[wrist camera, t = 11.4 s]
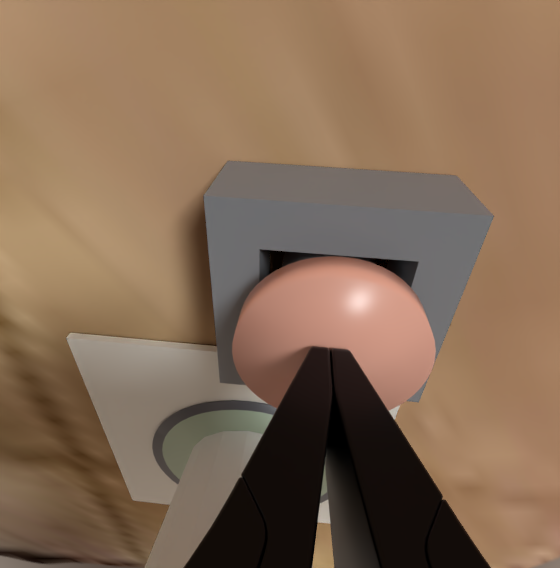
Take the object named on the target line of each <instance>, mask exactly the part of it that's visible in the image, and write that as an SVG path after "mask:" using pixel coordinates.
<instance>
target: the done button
mask: <svg viewBox="0 0 560 568" xmlns="http://www.w3.org/2000/svg"><path fill="white" fill-rule="evenodd" d="M312 346H317V347H327V348H329V350H331V349H332V348H339V349H348V350H350V351H351V353H352V354H353V356H354V358H355V359H356V361H357V362H358V364H359V365H360V367H361V368H362V370H363V372H364V373H365V375H366V376H367V378H368V379H369V381H370V383H371V384H372V386H373V387H374V389H375V390H376V392H377V394H378V395H379V397H380V398H381V400H382V401H383V403H384V404H385V406H386V408H387V409H388V411H389V410H391V409H393V408H395V407H397V406H399V405H400V404H402V403H404V402H405V401H407V400H408V399H409V398H410V397H412V396H413V395H414V394H415V393H416V392H417V391H418V390H419V389H420V388H421V387H422V386H423V384H424V383H425V382H426V380H427V379H428V377H429V375H430V373H431V371H432V368H433V365H434V362H435V354H436V348H435V340H434V336H433V333H432V330H431V327H430V324H429V322H428V319H427V316H426V313H425V311H424V308H423V306H422V304H421V302H420V300H419V298H418V296H417V295H416V293H415V292H414V291H413V289H412V288H411V287H410V286H409V285H408V284H407V283H406V282H405V281H404V280H403V279H401V278H400V277H398V276H397V275H396V274H394V273H393V272H391V271H389V270H387V269H385V268H384V267H382V266H379V265H376V264H375V260H374V258H365V257H352V256H339V255H327V254H314V253H301V252H288V251H286V252H285V254H284V257H283V262H282V268H280V269H277V270H276V271H274V272H272V273H271V274H269V275H268V276H266V277H265V278H264V279H263V280H261V281H260V282H259V283H258V284H257V285H256V286H255V287H254V288H253V290H252V291H251V292H250V293H249V295H248V297H247V298H246V300H245V302H244V304H243V306H242V309H241V312H240V316H239V319H238V323H237V326H236V330H235V333H234V338H233V342H232V354H233V361H234V364H235V367H236V370H237V372H238V374H239V376H240V378H241V379H242V380H243V382H244V383H245V385H246V386H247V387H248V388H249V389H250V390H251V391H252V392H253V393H254V394H255V395H257V396H258V397H259V398H260V399H262V400H263V401H265V402H266V403H268V404H269V405H271V406H273V407H275V408H278V406H279V404H280V402H281V400H282V399H283V397H284V395H285V393H286V391H287V389H288V388H289V386H290V384H291V382H292V380H293V378H294V377H295V375H296V373H297V371H298V369H299V367H300V366H301V364H302V362H303V360H304V358H305V356H306V355H307V353H308V351H309V349H310V348H311V347H312Z"/></svg>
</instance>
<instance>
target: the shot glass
mask: <svg viewBox="0 0 560 568" xmlns="http://www.w3.org/2000/svg"><path fill="white" fill-rule="evenodd" d="M262 435H263V434H260V433H256V432H251V431H222V432H219V433H216V434H212V435H209V436H206V437H204V438H203V439H202V440H201V441H199V442H198V443H197V444H196V445H195V446H194V447H193V449H192V452H191V454H190V457H189V459H188V462H187V464H186V467H185V469H184V471H183V474H182V476H181V479H180V481H179V484H178V486H177V489H176V491H175V494H174V496H173V499H172V501H171V503H170V506H169V508H168V511H167V513H166V516H165V518H164V521H163V523H162V526H161V528H160V530H159V533H158V535H157V538H156V540H155V543H154V545H153V548H152V550H151V553H150V555H149V558H148V560H147V562H146V565H145V567H144V568H183V567H184V566H185V565H186V563H187V562H188V560H189V559H190V557H191V556H192V554H193V553H194V551H195V550H196V548H197V547H198V545H199V544H200V542H201V541H202V539H203V538H204V536H205V535H206V533H207V532H208V530H209V529H210V527H211V526H212V524H213V522H214V521H215V519H216V517H217V516H218V514H219V512H220V510H221V509H222V507H223V505H224V504H225V502H226V500H227V499H228V497H229V495H230V493H231V491H232V490H233V488H234V486H235V484H236V482H237V480H238V479H239V478H240V477H241V474H242V472H243V470H244V468H245V466H246V464H247V463H248V461H249V459H250V457H251V455H252V453H253V452H254V450H255V448H256V446H257V444H258V442H259V441H260V439H261V437H262Z"/></svg>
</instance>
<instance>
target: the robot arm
mask: <svg viewBox="0 0 560 568" xmlns="http://www.w3.org/2000/svg"><path fill="white" fill-rule="evenodd" d="M324 466H325V470H326V481H327V492H328V503H329V514H330V524H331V535H332V546H333V557H334V568H491V567H490V566H489V564H488V563H487V562H486V560H485V559H484V557H483V556H482V554H481V553H480V551H479V550H478V549H477V547H476V546H475V544H474V543H473V541H472V540H471V538H470V537H469V535H468V534H467V532H466V531H465V529H464V528H463V526H462V525H461V523H460V522H459V520H458V519H457V517H456V515H455V514H454V512H453V511H452V509H451V507H450V506H449V504H448V503H447V501H446V500H442V498H443V496H442V494H441V492H440V491H439V489H438V487H437V486H436V484H435V483H434V481H433V480H432V478H431V476H430V475H429V473H428V472H427V470H426V469H425V467H424V465H423V464H422V462H421V461H420V459H419V458H418V456H417V455H416V453H415V451H414V450H413V448H412V447H411V445H410V444H409V442H408V440H407V439H406V437H405V436H404V434H403V433H402V431H401V429H400V428H399V426H398V425H397V423H396V422H395V420H394V419H393V417H392V415H391V414H390V412H389V411H388V409H387V408H386V406H385V404H384V403H383V401H382V400H381V398H380V397H379V395H378V394H377V392H376V390H375V389H374V387H373V386H372V384H371V383H370V381H369V379H368V378H367V376H366V375H365V373H364V372H363V370H362V368H361V367H360V365H359V364H358V362H357V361H356V359H355V358H354V356H353V354H352V353H351V351H350V350H348V349H339V348H332V349H331V350H329V348H327V347H317V346H312V347H311V348H310V349H309V351H308V353H307V355H306V356H305V358H304V360H303V362H302V364H301V366H300V367H299V369H298V371H297V373H296V375H295V377H294V378H293V380H292V382H291V384H290V386H289V388H288V389H287V391H286V393H285V395H284V397H283V399H282V400H281V402H280V404H279V406H278V408H277V410H276V411H275V413H274V415H273V417H272V419H271V421H270V422H269V424H268V426H267V428H266V430H265V432H264V433H263V435H262V437H261V439H260V441H259V442H258V444H257V446H256V448H255V450H254V452H253V453H252V455H251V457H250V459H249V461H248V463H247V464H246V466H245V468H244V470H243V472H242V474H241V477H240V478H239V479H238V480H237V482H236V484H235V486H234V488H233V490H232V491H231V493H230V495H229V497H228V499H227V500H226V502H225V504H224V505H223V507H222V509H221V510H220V512H219V514H218V516H217V517H216V519H215V521H214V522H213V524H212V526H211V527H210V529H209V530H208V532H207V533H206V535H205V536H204V538H203V539H202V541H201V542H200V544H199V545H198V547H197V548H196V550H195V551H194V553H193V554H192V556H191V557H190V559H189V560H188V562H187V563H186V565H185V566H184V567H183V568H312V562H313V554H314V546H315V538H316V530H317V522H318V514H319V506H320V498H321V490H322V482H323V474H324ZM441 500H442V501H441Z"/></svg>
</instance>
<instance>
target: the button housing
mask: <svg viewBox="0 0 560 568" xmlns="http://www.w3.org/2000/svg"><path fill="white" fill-rule="evenodd" d="M204 206H205V218H206V229H207V240H208V252H209V263H210V275H211V286H212V298H213V309H214V320H215V332H216V343H217V355H218V366H219V378H220V383H227V384H237V385H245V383H244V382H243V380H242V379H241V378H240V376H239V374H238V372H237V370H236V367H235V364H234V361H233V354H232V342H233V338H234V333H235V330H236V326H237V323H238V319H239V316H240V312H241V309H242V306H243V304H244V302H245V300H246V298H247V297H248V295H249V293H250V292H251V291H252V290H253V288H254V287H255V286H256V285H257V284H258V283H259V282H260V281H261V280H263V279H264V278H265V277H266V276H268V275H269V274H270V250H275V251H288V252H301V253H314V254H327V255H339V256H352V257H365V258H378V259H389V260H388V264H387V268H386V269H387V270H389V271H391V272H393V273H394V274H396V275H397V276H398V277H400V278H401V279H403V280H404V281H405V282H406V283H407V284H408V285H409V286H410V287H411V288H412V289H413V291H414V292H415V293H416V295H417V296H418V298H419V300H420V302H421V304H422V306H423V308H424V311H425V313H426V316H427V319H428V322H429V324H430V327H431V330H432V333H433V336H434V340H435V348H436V354H435V361H436V358H437V356H438V353H439V351H440V348H441V346H442V343H443V341H444V338H445V336H446V333H447V331H448V328H449V326H450V324H451V321H452V319H453V316H454V314H455V311H456V309H457V306H458V304H459V301H460V299H461V296H462V294H463V291H464V289H465V286H466V284H467V281H468V279H469V276H470V274H471V272H472V269H473V267H474V264H475V262H476V259H477V257H478V254H479V252H480V249H481V247H482V244H483V242H484V239H485V237H486V234H487V232H488V229H489V227H490V225H491V222H492V220H493V217H494V216H493V214H492V213H491V212H490V211H489V210H488V209H487V208H486V207H485V206H484V205H483V204H482V203H481V201H480V200H479V199H478V198H477V197H476V196H475V195H474V194H473V193H472V192H471V191H470V190H469V188H468V187H467V186H466V185H465V184H464V183H463V182H462V181H461V180H460V179H459V178H458V177H457V176H455V175H440V174H424V173H409V172H393V171H378V170H363V169H347V168H332V167H316V166H301V165H285V164H270V163H255V162H239V161H227V163H226V164H225V166H224V167H223V169H222V170H221V171H220V173H219V174H218V176H217V177H216V179H215V180H214V181H213V183H212V184H211V186H210V187H209V189H208V190H207V191H206V193H205V194H204ZM434 363H435V362H434ZM433 366H434V365H433ZM428 378H429V377H428ZM427 380H428V379H427ZM427 380H426V382H425V383H424V384H423V386H422V387H421V388H420V389H419V390H418V391H417V392H416V393H415V394H414V395H413V396H412V397H410V398H409V399H408V400H407V401H412V402H419V400H420V398H421V395H422V393H423V390H424V388H425V385H426V383H427Z"/></svg>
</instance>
